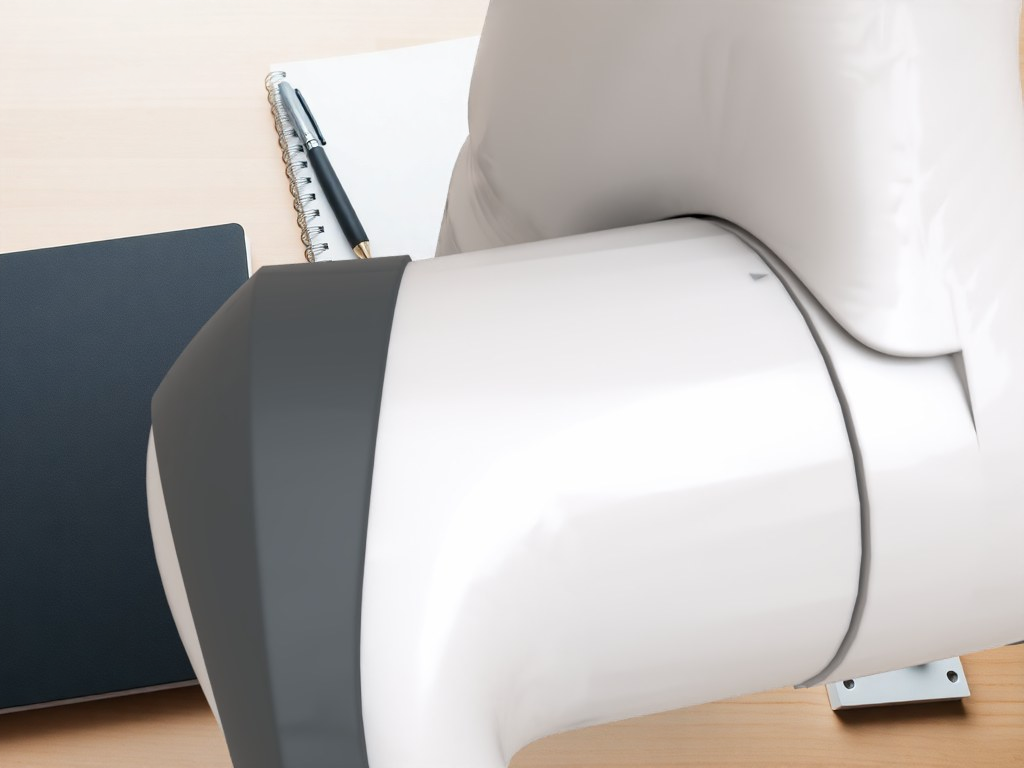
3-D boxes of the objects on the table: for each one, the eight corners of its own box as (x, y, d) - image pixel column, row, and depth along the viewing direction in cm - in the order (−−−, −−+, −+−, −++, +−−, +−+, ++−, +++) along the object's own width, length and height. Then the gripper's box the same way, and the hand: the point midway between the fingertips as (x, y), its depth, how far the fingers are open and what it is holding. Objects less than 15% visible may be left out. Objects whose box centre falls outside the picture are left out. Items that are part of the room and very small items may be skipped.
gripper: (296, 427, 26) (313, 510, 39) (880, 257, 28) (711, 390, 41) (245, 255, 28) (278, 389, 41) (794, 108, 30) (658, 280, 43)
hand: (498, 388), depth 41 cm, fingers closed
